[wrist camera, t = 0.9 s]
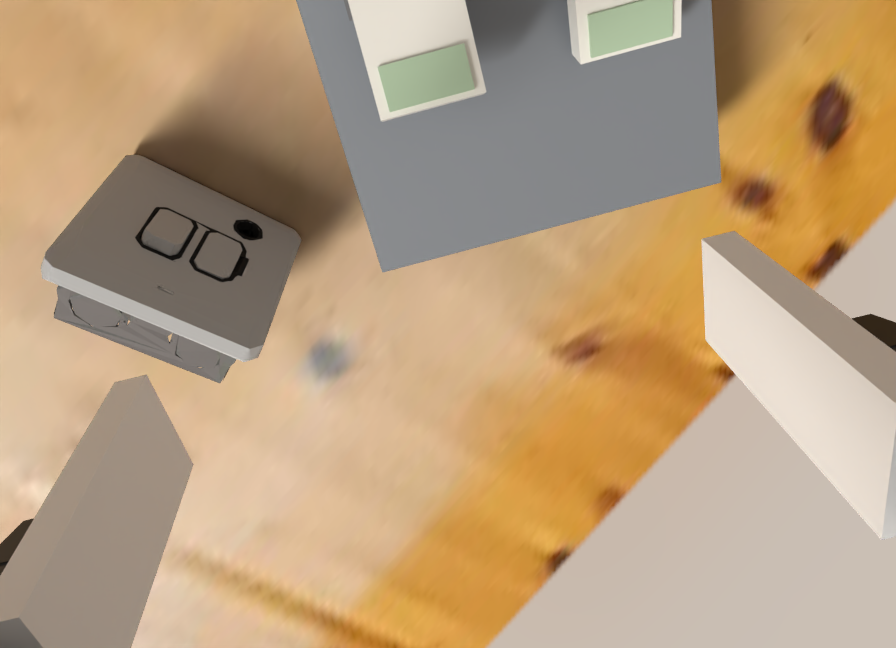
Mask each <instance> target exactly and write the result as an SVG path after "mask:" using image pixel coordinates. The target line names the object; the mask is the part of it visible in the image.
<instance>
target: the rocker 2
mask: <svg viewBox="0 0 896 648" xmlns="http://www.w3.org/2000/svg"><path fill="white" fill-rule="evenodd" d="M681 5H682V0H567V6H568V17H569V27H570V38H571V49H572V55H573V56H574V57H575V58H576V59H577V61H578V62H579V63H580V64H585V63H588V62H592V61H596V60H599V59H603V58H607V57H610V56H614V55H618V54H621V53H625V52H629V51H632V50H636V49H640V48H643V47H647V46H651V45H654V44H658V43H662V42H666V41H669V40H673V39H677V38H680V37H681Z"/></svg>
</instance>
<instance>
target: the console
mask: <svg viewBox="0 0 896 648" xmlns="http://www.w3.org/2000/svg"><path fill="white" fill-rule="evenodd" d="M296 1H297V4H298V8H299V11H300V14H301V17H302V20H303V23H304V26H305V30H306V33H307V36H308V39H309V42H310V45H311V49H312V52H313V55H314V58H315V61H316V64H317V67H318V71H319V74H320V77H321V80H322V83H323V86H324V90H325V93H326V96H327V99H328V102H329V105H330V108H331V112H332V115H333V118H334V121H335V124H336V127H337V130H338V134H339V137H340V140H341V143H342V146H343V149H344V153H345V156H346V159H347V162H348V165H349V168H350V171H351V175H352V178H353V181H354V184H355V187H356V190H357V194H358V197H359V200H360V203H361V206H362V209H363V212H364V216H365V219H366V222H367V225H368V228H369V231H370V234H371V238H372V241H373V244H374V247H375V250H376V253H377V257H378V260H379V263H380V266H381V269H382V272H386V271H390V270H394V269H397V268H401V267H405V266H409V265H412V264H416V263H420V262H424V261H427V260H431V259H435V258H439V257H443V256H446V255H450V254H454V253H458V252H461V251H465V250H469V249H473V248H476V247H480V246H484V245H488V244H491V243H495V242H499V241H503V240H506V239H510V238H514V237H518V236H521V235H525V234H529V233H533V232H536V231H540V230H544V229H548V228H551V227H555V226H559V225H563V224H566V223H570V222H574V221H578V220H582V219H585V218H589V217H593V216H597V215H600V214H604V213H608V212H612V211H615V210H619V209H623V208H627V207H630V206H634V205H638V204H642V203H645V202H649V201H653V200H657V199H660V198H664V197H668V196H672V195H675V194H679V193H683V192H687V191H690V190H694V189H698V188H702V187H706V186H709V185H713V184H717V183H721V170H720V152H719V133H718V114H717V96H716V77H715V58H714V40H713V21H712V2H711V0H682V5H681V37H680V38H677V39H673V40H669V41H666V42H662V43H658V44H654V45H651V46H647V47H643V48H640V49H636V50H632V51H629V52H625V53H621V54H618V55H614V56H610V57H607V58H603V59H599V60H596V61H592V62H588V63H585V64H580V63H579V62H578V61H577V59H576V58H575V57H574V56H573V55H572V49H571V38H570V27H569V17H568V6H567V0H465V2H466V7H467V11H468V15H469V19H470V24H471V28H472V32H473V37H474V41H475V45H476V49H477V54H478V58H479V62H480V67H481V71H482V75H483V79H484V84H485V88H486V93H485V94H483V95H479V96H475V97H472V98H468V99H464V100H461V101H457V102H453V103H450V104H446V105H442V106H439V107H435V108H431V109H428V110H424V111H420V112H417V113H413V114H409V115H405V116H402V117H398V118H394V119H391V120H387V121H383V122H382V121H381V119H380V116H379V112H378V108H377V105H376V101H375V98H374V94H373V90H372V87H371V83H370V79H369V76H368V72H367V69H366V65H365V61H364V58H363V54H362V50H361V47H360V43H359V39H358V36H357V32H356V29H355V25H354V21H353V18H352V14H351V10H350V7H349V3H348V0H296Z"/></svg>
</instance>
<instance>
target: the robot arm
mask: <svg viewBox="0 0 896 648" xmlns="http://www.w3.org/2000/svg"><path fill="white" fill-rule="evenodd" d="M702 261H703V286H704V311H705V336H706V341H707V342H708V343H709V345H710V346H711V347H712V348H713V349H714V350H715V351H716V353H717V354H718V355H719V356H720V357H721V358H722V359H723V360H724V362H725V363H726V364H727V365H728V366H729V367H730V368H731V370H732V371H733V372H734V373H735V374H736V375H737V376H738V378H739V379H740V380H741V381H742V382H743V383H744V384H745V385H746V387H747V388H748V389H749V390H750V391H751V392H752V393H753V394H754V396H755V397H756V398H757V399H758V400H759V401H760V403H762V405H763V406H764V407H765V408H766V409H767V410H768V412H769V413H770V414H771V415H772V416H773V417H774V418H775V420H776V421H777V422H778V423H779V424H780V425H781V426H782V427H783V429H784V430H785V431H786V432H787V433H788V434H789V435H790V437H791V438H792V439H793V440H794V441H795V442H796V443H797V445H798V446H799V447H800V448H801V449H802V450H803V451H804V453H805V454H806V455H807V456H808V457H809V458H810V459H811V460H812V462H813V463H814V464H815V465H816V466H817V467H818V468H819V469H820V471H821V472H822V473H823V474H824V475H825V476H826V478H827V479H828V480H829V481H830V482H831V483H832V484H833V485H834V487H835V488H836V489H837V490H838V491H839V492H840V493H841V495H842V496H843V497H844V498H845V499H846V500H847V501H848V503H849V504H850V505H851V506H852V507H853V508H854V509H855V510H856V512H858V514H859V515H860V516H861V517H862V518H863V520H864V521H865V522H866V523H867V524H868V525H869V526H870V527H871V529H872V530H873V531H874V532H875V533H876V534H877V535H878V537H879V538H880V539H881V540H883V539H887V538H892V537H895V536H896V323H895V322H893V321H890V320H887V319H884V318H881V317H878V316H875V315H872V314H869V315H865V316H860V317H856V318H852V319H851V318H850V317H848V316H847V315H846V314H844V313H843V312H842V311H840V310H839V309H838V308H836V307H835V306H834V305H832V304H831V303H830V302H828V301H827V300H826V299H824V298H823V297H822V296H820V295H819V294H818V293H816V292H815V291H814V290H812V289H811V288H810V287H808V286H807V285H806V284H804V283H803V282H802V281H800V280H799V279H798V278H796V277H795V276H794V275H792V274H791V273H790V272H788V271H787V270H786V269H784V268H783V267H782V266H780V265H779V264H778V263H776V262H775V261H774V260H772V259H771V258H770V257H768V256H767V255H766V254H764V253H763V252H762V251H760V250H759V249H758V248H756V247H755V246H754V245H752V244H751V243H750V242H748V241H747V240H746V239H744V238H743V237H742V236H740V235H739V234H738V233H736V232H735V231H732V232H728V233H724V234H720V235H716V236H712V237H708V238H703V239H702ZM192 467H193V463H192V461H191V459H190V457H189V455H188V453H187V451H186V449H185V447H184V445H183V443H182V442H181V440H180V438H179V436H178V434H177V432H176V430H175V428H174V426H173V424H172V422H171V420H170V419H169V417H168V415H167V413H166V411H165V409H164V407H163V405H162V403H161V401H160V399H159V397H158V396H157V394H156V392H155V390H154V388H153V386H152V384H151V382H150V380H149V378H148V376H147V375H143V376H139V377H135V378H131V379H127V380H122V381H118V382H115V383H114V384H113V386H112V388H111V389H110V391H109V393H108V394H107V396H106V398H105V399H104V401H103V403H102V405H101V406H100V408H99V410H98V411H97V413H96V415H95V416H94V418H93V420H92V421H91V423H90V425H89V427H88V428H87V430H86V432H85V433H84V435H83V437H82V438H81V440H80V442H79V443H78V445H77V447H76V449H75V450H74V452H73V454H72V455H71V457H70V459H69V460H68V462H67V464H66V465H65V467H64V469H63V470H62V472H61V474H60V476H59V477H58V479H57V481H56V482H55V484H54V486H53V487H52V489H51V491H50V492H49V494H48V496H47V498H46V499H45V501H44V503H43V504H42V506H41V508H40V509H39V511H38V513H37V514H36V516H35V518H34V519H30V520H26V521H23V522H22V523H21V524H20V525H19V526H18V527H17V528H16V529H15V530H14V531H13V532H12V533H11V534H10V535H9V536H8V537H7V538H6V539H5V540H4V541H3V542H2V543H1V544H0V648H131V646H132V643H133V640H134V637H135V634H136V631H137V628H138V625H139V622H140V619H141V617H142V614H143V611H144V608H145V605H146V602H147V599H148V596H149V593H150V590H151V587H152V584H153V581H154V578H155V576H156V573H157V570H158V567H159V564H160V561H161V558H162V555H163V552H164V549H165V546H166V543H167V540H168V537H169V535H170V532H171V529H172V526H173V523H174V520H175V517H176V514H177V511H178V508H179V505H180V502H181V499H182V496H183V493H184V491H185V488H186V485H187V482H188V479H189V476H190V473H191V470H192Z"/></svg>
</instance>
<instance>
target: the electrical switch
mask: <svg viewBox="0 0 896 648" xmlns="http://www.w3.org/2000/svg"><path fill="white" fill-rule="evenodd" d="M300 243H301V238H300V236H299V235H298V233H297V232H296V231H295V230H294V229H292V228H290V227H288V226H286V225H284V224H282V223H280V222H278V221H276V220H274V219H271V218H269V217H267V216H265V215H263V214H261V213H259V212H257V211H255V210H253V209H251V208H249V207H247V206H245V205H242V204H240V203H238V202H236V201H234V200H232V199H230V198H228V197H226V196H224V195H222V194H220V193H218V192H216V191H213V190H211V189H209V188H207V187H205V186H203V185H201V184H199V183H197V182H195V181H193V180H191V179H189V178H187V177H184V176H182V175H180V174H178V173H176V172H174V171H172V170H170V169H168V168H166V167H164V166H162V165H160V164H157V163H155V162H153V161H151V160H149V159H147V158H145V157H143V156H140V155H127V156H125V157H124V159H123V160H122V161H121V162H120V163H119V164H118V166H117V167H116V168H115V169H114V170H113V171H112V173H111V174H110V175H109V176H108V177H107V179H106V180H105V181H104V182H103V183H102V185H101V186H100V187H99V188H98V190H97V191H96V192H95V193H94V194H93V196H92V197H91V198H90V199H89V200H88V202H87V203H86V204H85V205H84V207H83V208H82V209H81V210H80V211H79V213H78V214H77V215H76V216H75V217H74V219H73V220H72V221H71V222H70V223H69V225H68V226H67V227H66V228H65V230H64V231H63V232H62V233H61V234H60V236H59V237H58V238H57V239H56V240H55V242H54V243H53V244H52V245H51V246H50V248H49V249H48V250H47V251H46V253H45V256H44V259H43V262H42V265H41V273H42V278H43V279H45V280H47V281H50V282H52V283H55V284H57V285H58V288H57V294H58V301H57V305H56V308H55V312H54V318H56V319H58V320H61V321H63V322H66V323H68V324H71V325H73V326H76V327H78V328H81V329H83V330H86V331H89V332H91V333H94V334H96V335H99V336H101V337H104V338H106V339H109V340H111V341H114V342H116V343H119V344H121V345H124V346H127V347H129V348H132V349H134V350H137V351H139V352H142V353H144V354H147V355H149V356H152V357H154V358H157V359H159V360H162V361H165V362H167V363H170V364H172V365H175V366H177V367H180V368H182V369H185V370H187V371H190V372H192V373H195V374H197V375H200V376H203V377H205V378H208V379H210V380H213V381H215V382H218V383H221V381H222V379H223V377H224V378H225V376H226V374H227V372H228V370H229V368H230V366H231V365H232V364H233V363H234V362H235V361H236V359H238V360H240V361H243V362H246V361H249V360H252V359H255V358H258V356H259V354H260V352H261V350H262V347H263V345H264V342H265V339H266V337H267V334H268V331H269V328H270V326H271V323H272V320H273V317H274V315H275V312H276V309H277V306H278V303H279V301H280V298H281V295H282V292H283V290H284V287H285V284H286V281H287V279H288V276H289V273H290V270H291V268H292V265H293V262H294V259H295V257H296V254H297V251H298V248H299V246H300ZM72 307H73V310H74V311H73V310H72ZM128 319H129V320H130V323H129V324H128V325H127V323H128ZM118 323H119V325H117V324H118ZM91 325H92V326H94V327H92V326H91ZM172 333H173V334H172ZM170 334H172V337H171V341H170V342H169V340H168V337H167V336H169V335H170ZM198 367H203V368H198ZM223 380H224V379H223Z"/></svg>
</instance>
